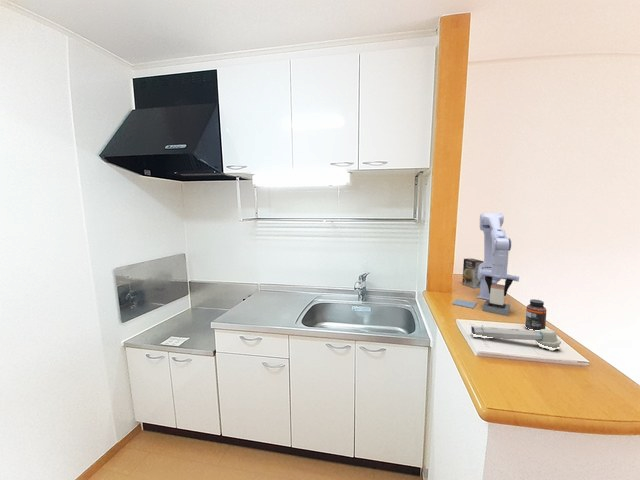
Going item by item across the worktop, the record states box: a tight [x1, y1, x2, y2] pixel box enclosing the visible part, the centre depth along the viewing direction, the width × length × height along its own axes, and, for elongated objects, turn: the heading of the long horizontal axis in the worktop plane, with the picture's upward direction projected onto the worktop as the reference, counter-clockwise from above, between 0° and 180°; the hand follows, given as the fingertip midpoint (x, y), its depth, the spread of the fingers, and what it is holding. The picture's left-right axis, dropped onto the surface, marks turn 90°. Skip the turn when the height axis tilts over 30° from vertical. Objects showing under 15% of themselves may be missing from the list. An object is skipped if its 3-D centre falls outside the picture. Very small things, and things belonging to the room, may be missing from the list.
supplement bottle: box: [524, 298, 547, 330], centre depth 101 cm, size 6×6×11 cm
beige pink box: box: [489, 283, 506, 305], centre depth 121 cm, size 5×5×8 cm
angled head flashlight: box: [470, 325, 562, 348], centre depth 92 cm, size 5×7×25 cm
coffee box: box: [461, 258, 484, 289], centre depth 160 cm, size 9×6×16 cm
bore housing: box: [482, 299, 511, 317], centre depth 121 cm, size 10×10×2 cm
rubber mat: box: [451, 298, 478, 309], centre depth 130 cm, size 9×9×1 cm
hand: (497, 294), depth 121 cm, fingers closed on beige pink box, 5 cm apart
